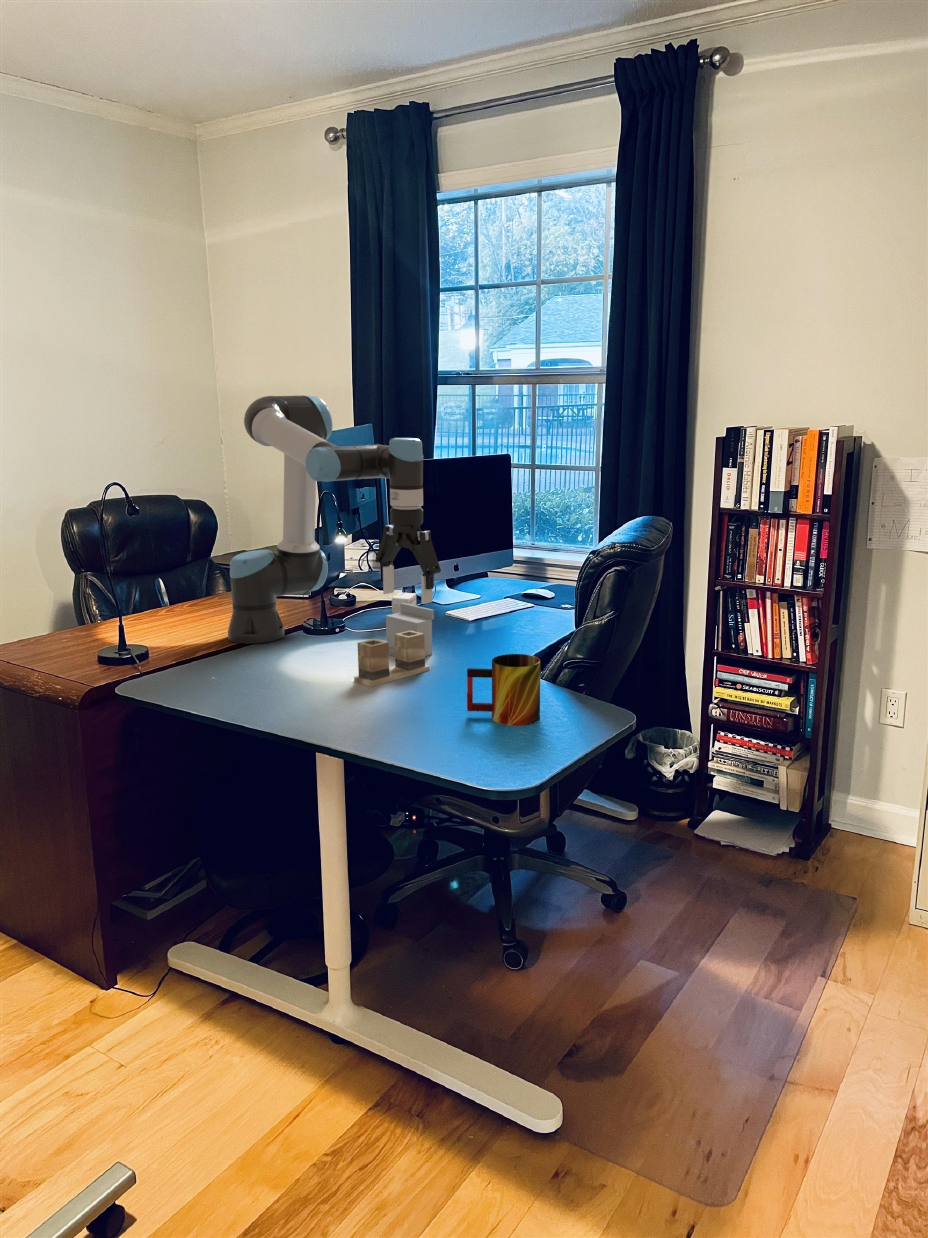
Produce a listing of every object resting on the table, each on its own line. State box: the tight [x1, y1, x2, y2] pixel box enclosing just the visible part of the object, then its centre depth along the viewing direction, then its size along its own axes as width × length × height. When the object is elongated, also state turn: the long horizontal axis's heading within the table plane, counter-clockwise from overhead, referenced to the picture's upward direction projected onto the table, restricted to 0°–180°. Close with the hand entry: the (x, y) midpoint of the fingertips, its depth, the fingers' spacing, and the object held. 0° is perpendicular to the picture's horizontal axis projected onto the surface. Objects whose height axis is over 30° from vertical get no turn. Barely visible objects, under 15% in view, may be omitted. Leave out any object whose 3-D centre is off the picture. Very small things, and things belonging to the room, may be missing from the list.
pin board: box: [353, 664, 431, 687], centre depth 209 cm, size 6×18×6 cm, turn 134°
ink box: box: [391, 592, 417, 614], centre depth 243 cm, size 9×5×12 cm, turn 168°
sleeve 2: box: [394, 630, 426, 671], centre depth 212 cm, size 5×5×8 cm
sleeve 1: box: [357, 638, 390, 681], centre depth 205 cm, size 5×5×8 cm
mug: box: [466, 653, 541, 727], centre depth 178 cm, size 10×14×12 cm
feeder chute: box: [385, 603, 435, 657], centre depth 228 cm, size 12×9×11 cm
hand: (407, 597), depth 210 cm, fingers open, 13 cm apart
